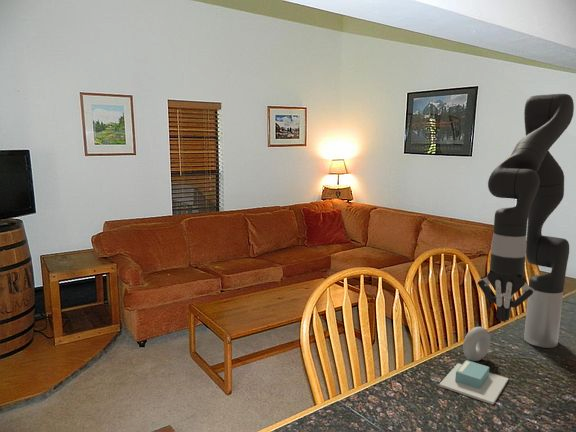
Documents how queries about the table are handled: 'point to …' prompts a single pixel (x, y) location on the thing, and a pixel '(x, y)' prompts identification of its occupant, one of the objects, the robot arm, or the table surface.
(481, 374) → the box
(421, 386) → the table surface
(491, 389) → the mat
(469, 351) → the donut
